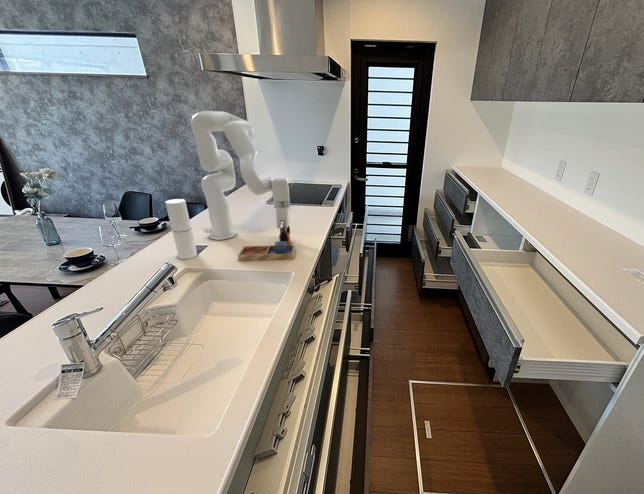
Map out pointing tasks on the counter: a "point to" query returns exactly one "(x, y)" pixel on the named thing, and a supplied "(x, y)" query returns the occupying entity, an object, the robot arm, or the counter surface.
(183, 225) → the cylindrical container
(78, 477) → the counter surface
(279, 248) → the blue block
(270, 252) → the tray
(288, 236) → the red block
